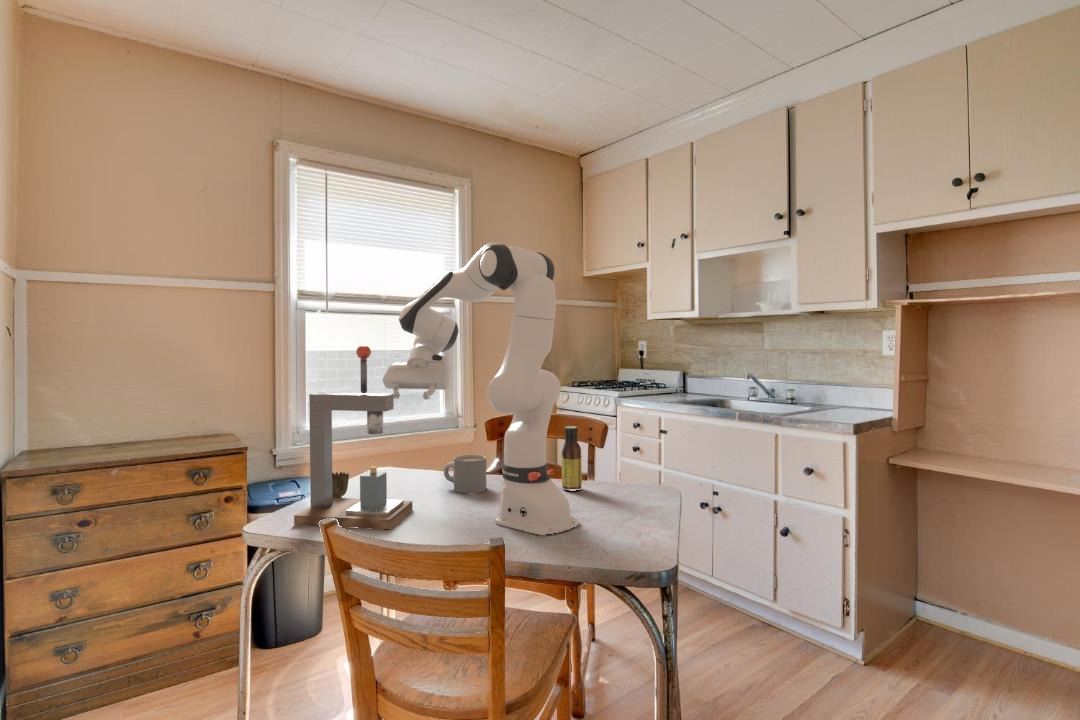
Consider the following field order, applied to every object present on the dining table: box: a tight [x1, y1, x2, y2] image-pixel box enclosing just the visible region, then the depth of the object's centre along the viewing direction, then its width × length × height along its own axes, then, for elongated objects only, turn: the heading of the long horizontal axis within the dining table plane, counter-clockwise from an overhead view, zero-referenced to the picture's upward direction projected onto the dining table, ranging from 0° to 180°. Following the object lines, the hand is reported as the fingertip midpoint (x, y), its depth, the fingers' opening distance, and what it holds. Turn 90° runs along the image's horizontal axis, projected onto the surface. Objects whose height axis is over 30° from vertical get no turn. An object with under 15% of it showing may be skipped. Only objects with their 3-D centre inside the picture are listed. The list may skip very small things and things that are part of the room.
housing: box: [359, 466, 388, 508], centre depth 146 cm, size 5×5×10 cm
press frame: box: [308, 344, 405, 516], centre depth 145 cm, size 22×11×43 cm, turn 83°
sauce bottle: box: [560, 425, 583, 489], centre depth 174 cm, size 7×6×20 cm
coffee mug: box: [443, 453, 487, 495], centre depth 174 cm, size 13×10×10 cm
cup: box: [332, 471, 350, 498], centre depth 160 cm, size 8×7×8 cm
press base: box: [293, 497, 413, 531], centre depth 146 cm, size 25×16×2 cm, turn 83°
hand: (410, 397), depth 166 cm, fingers open, 8 cm apart
